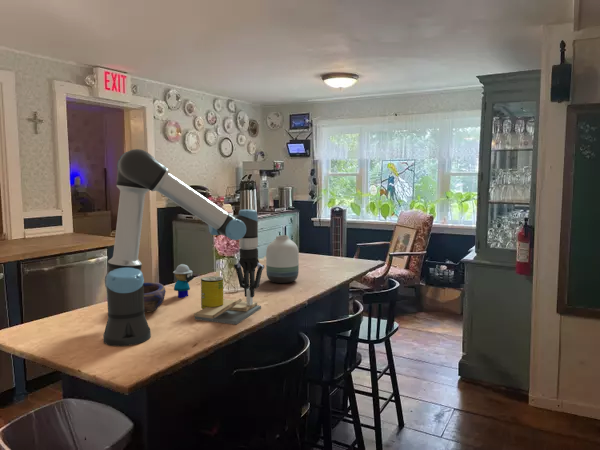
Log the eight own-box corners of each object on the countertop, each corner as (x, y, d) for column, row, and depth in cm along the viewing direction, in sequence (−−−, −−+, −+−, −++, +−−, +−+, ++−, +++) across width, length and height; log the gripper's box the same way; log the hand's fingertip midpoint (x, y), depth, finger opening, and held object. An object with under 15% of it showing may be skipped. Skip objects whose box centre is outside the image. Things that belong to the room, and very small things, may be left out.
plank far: (246, 311, 184) (246, 308, 184) (228, 309, 187) (228, 307, 187) (257, 304, 194) (257, 302, 194) (240, 303, 197) (240, 300, 196)
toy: (188, 299, 207) (187, 266, 206) (170, 298, 209) (169, 265, 207) (196, 294, 216) (195, 262, 214) (178, 293, 217) (178, 262, 216)
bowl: (117, 318, 179) (116, 293, 178) (122, 306, 197) (121, 283, 195) (165, 315, 184) (165, 290, 183) (166, 303, 201) (165, 280, 200)
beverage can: (220, 303, 197) (220, 275, 196) (225, 308, 188) (225, 279, 187) (199, 305, 193) (199, 277, 192) (203, 311, 185) (203, 281, 184)
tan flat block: (230, 307, 173) (228, 305, 173) (214, 317, 176) (213, 315, 176) (242, 300, 182) (240, 298, 182) (227, 310, 185) (226, 308, 185)
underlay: (236, 324, 173) (236, 318, 173) (194, 319, 179) (194, 313, 179) (260, 308, 193) (260, 302, 193) (222, 304, 199) (222, 298, 199)
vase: (262, 284, 236) (261, 237, 234) (271, 276, 253) (271, 233, 250) (294, 286, 232) (294, 238, 230) (301, 278, 249) (302, 234, 246)
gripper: (267, 247, 188) (267, 303, 191) (238, 245, 193) (239, 300, 195) (259, 250, 181) (260, 308, 184) (229, 248, 186) (231, 305, 188)
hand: (249, 304), depth 189 cm, fingers closed
